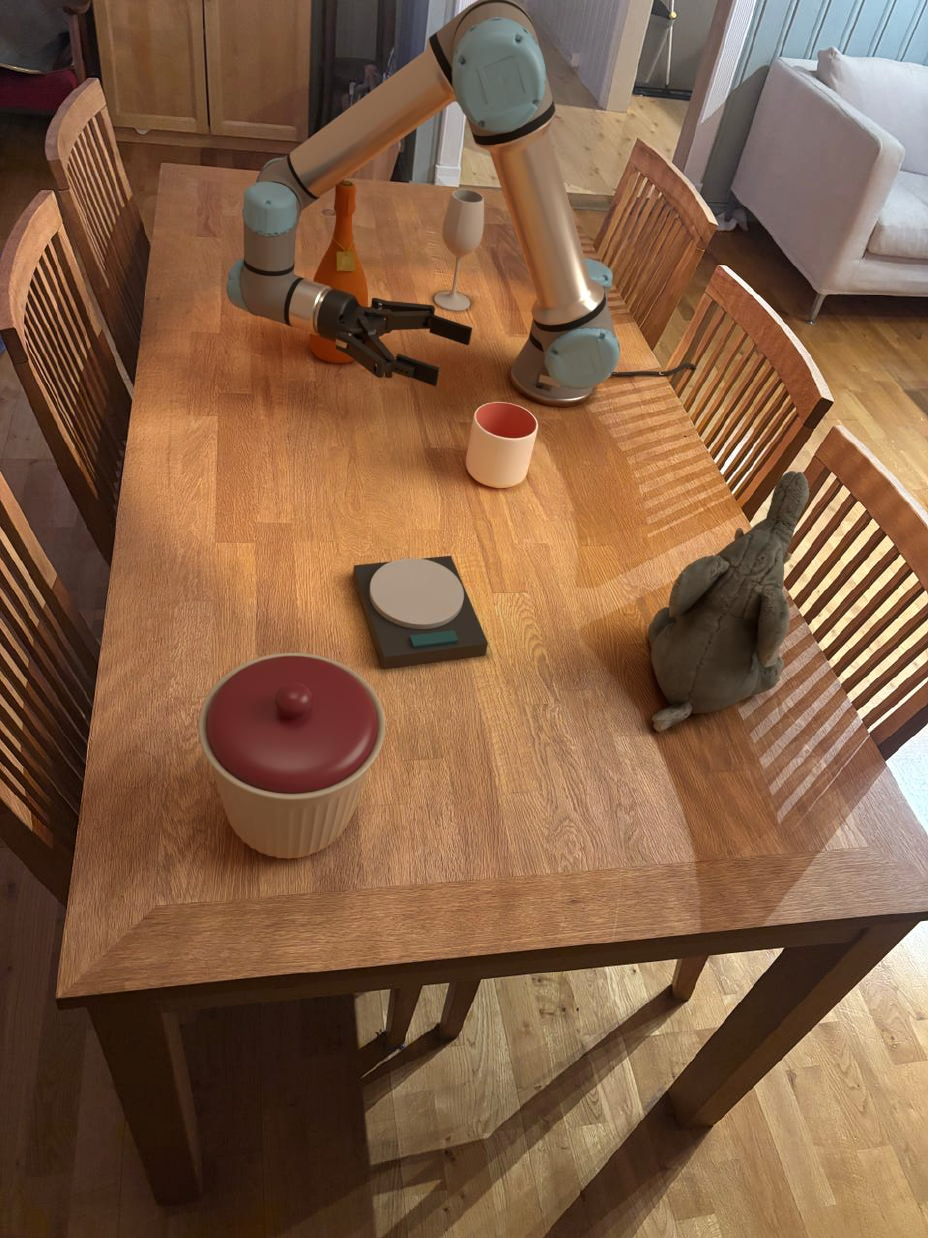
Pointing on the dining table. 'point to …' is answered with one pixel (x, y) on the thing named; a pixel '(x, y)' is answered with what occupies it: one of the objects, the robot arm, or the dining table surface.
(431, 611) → the scale
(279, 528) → the dining table surface
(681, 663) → the stuffed elephant
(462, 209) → the wineglass
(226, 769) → the canister
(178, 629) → the dining table surface
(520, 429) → the cup
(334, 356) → the wine bottle
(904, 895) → the dining table surface
